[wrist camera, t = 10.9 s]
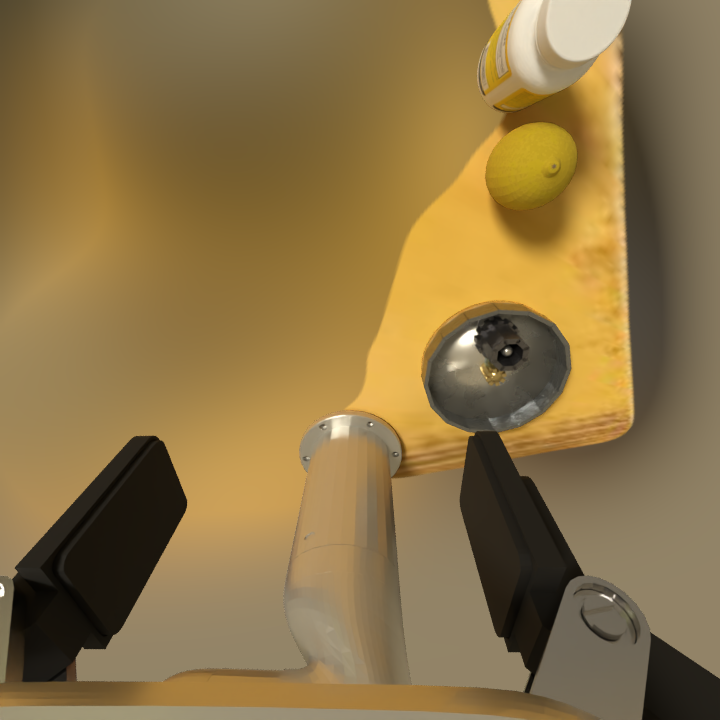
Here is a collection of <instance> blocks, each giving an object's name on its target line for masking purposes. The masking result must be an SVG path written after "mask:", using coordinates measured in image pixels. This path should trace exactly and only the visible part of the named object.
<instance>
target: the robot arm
mask: <svg viewBox="0 0 720 720" xmlns="http://www.w3.org/2000/svg"><path fill="white" fill-rule="evenodd" d="M299 453H300V460H301V463H302V465H303V467H304V469H305V471H306V472H307V478H306V483H305V488H304V493H303V497H302V503H301V507H300V512H299V517H298V522H297V527H296V531H295V537H294V541H293V546H292V551H291V556H290V561H289V566H288V570H287V576H286V581H285V587H284V610H285V616H286V620H287V623H288V626H289V629H290V631H291V634H292V636H293V638H294V640H295V642H296V644H297V646H298V648H299V650H300V652H301V654H302V656H303V658H304V660H305V662H306V663H307V666H306V667H304V668H300V669H284V670H258V669H229V668H222V669H217V668H216V669H214V668H207V669H194V670H187V671H184V672H180V673H178V674H175V675H173V676H171V677H169V678H167V679H165V680H164V681H163V682H104V681H101V682H100V681H92V682H91V681H90V682H89V681H77V675H76V656H77V655H78V653H79V651H80V650H81V648H82V647H83V648H84V649H106V647H107V645H108V643H109V642H110V640H111V638H112V636H113V635H115V634H116V633H118V632H119V631H120V630H121V628H122V626H123V625H124V623H125V621H126V619H127V617H128V616H129V614H130V612H131V610H132V608H133V606H134V605H135V603H136V601H137V599H138V597H139V596H140V594H141V592H142V590H143V588H144V586H145V585H146V583H147V581H148V579H149V577H150V575H151V574H152V572H153V570H154V568H155V566H156V564H157V563H158V561H159V559H160V557H161V555H162V553H163V552H164V550H165V548H166V546H167V544H168V542H169V541H170V538H171V537H172V535H173V533H174V532H175V530H176V528H177V526H178V524H179V522H180V520H181V518H182V517H183V515H184V513H185V511H186V508H187V499H186V496H185V494H184V492H183V489H182V487H181V484H180V481H179V479H178V476H177V474H176V471H175V469H174V467H173V464H172V462H171V459H170V456H169V454H168V451H167V449H166V447H165V444H164V442H163V441H160V440H159V438H158V437H156V436H136V437H133V438H132V439H131V440H130V441H129V442H128V443H127V444H126V445H125V446H124V447H123V449H122V450H121V451H120V452H119V453H118V454H117V455H116V456H115V457H114V459H113V460H112V461H111V462H110V463H109V464H108V465H107V466H106V467H105V468H104V470H103V471H102V472H101V473H100V474H99V475H98V476H97V477H96V478H95V480H94V481H93V482H92V483H91V484H90V485H89V486H88V487H87V488H86V489H85V491H84V492H83V493H82V494H81V495H80V496H79V497H78V498H77V499H76V500H75V502H74V503H73V504H72V505H71V506H70V507H69V508H68V509H67V511H66V512H65V513H64V514H63V515H62V516H61V517H60V518H59V519H58V520H57V521H56V523H55V524H54V525H53V526H52V527H51V528H50V529H49V530H48V532H47V533H46V534H45V535H44V536H43V537H42V538H41V539H40V540H39V541H38V543H37V544H36V545H35V546H34V547H33V548H32V549H31V550H30V551H29V552H28V553H27V555H26V556H25V557H24V558H23V559H22V560H21V561H20V562H19V564H18V565H17V566H16V567H15V569H16V570H17V571H18V573H17V574H16V576H15V577H14V578H13V579H10V578H9V577H7V576H0V720H720V679H719V678H718V677H716V676H715V675H713V674H712V673H710V672H709V671H707V670H706V669H704V668H703V667H701V666H700V665H698V664H697V663H695V662H694V661H692V660H691V659H689V658H688V657H686V656H685V655H683V654H682V653H680V652H679V651H677V650H676V649H675V648H673V647H671V646H670V645H669V644H667V643H666V642H664V641H663V640H661V639H660V638H658V637H657V636H655V635H654V634H652V633H651V632H650V628H649V625H648V623H647V621H646V618H645V616H644V614H643V613H642V611H641V610H640V609H639V607H638V606H637V604H636V603H635V602H634V601H633V600H632V599H631V598H630V597H629V596H628V595H627V594H626V593H625V592H623V591H622V590H621V589H619V588H618V587H616V586H615V585H613V584H612V583H609V582H607V581H605V580H603V579H601V578H597V577H593V576H584V574H583V572H582V570H581V568H580V567H579V565H578V563H577V561H576V559H575V557H574V555H573V554H572V552H571V550H570V548H569V546H568V544H567V543H566V541H565V539H564V537H563V535H562V533H561V532H560V530H559V528H558V526H557V524H556V522H555V521H554V519H553V517H552V515H551V513H550V511H549V509H548V508H547V506H546V504H545V502H544V500H543V499H542V497H541V495H540V493H539V491H538V490H537V487H536V486H535V484H534V482H533V481H532V480H531V478H529V477H526V476H520V475H519V473H518V471H517V469H516V467H515V466H514V463H513V461H512V459H511V457H510V455H509V454H508V452H507V450H506V448H505V446H504V444H503V442H502V440H501V438H500V436H499V434H498V433H497V432H496V431H476V433H475V436H470V437H469V439H468V446H467V453H466V459H465V466H464V473H463V480H462V486H461V493H460V507H461V512H462V515H463V519H464V523H465V526H466V529H467V533H468V537H469V540H470V544H471V547H472V551H473V555H474V558H475V562H476V565H477V569H478V572H479V576H480V580H481V583H482V587H483V590H484V594H485V597H486V601H487V605H488V608H489V612H490V615H491V618H492V622H493V626H494V629H495V632H496V634H497V636H498V637H504V639H505V643H506V646H507V649H508V652H520V653H521V656H522V659H523V662H524V665H525V667H526V668H527V669H528V670H529V671H530V674H529V677H528V680H527V683H526V685H525V688H524V691H523V692H518V691H509V690H499V689H488V688H477V687H475V688H474V687H450V686H449V687H448V686H422V685H412V684H411V678H410V672H409V666H408V661H407V654H406V646H405V638H404V631H403V621H402V610H401V599H400V587H399V575H398V562H397V548H396V535H395V524H394V511H393V498H392V486H391V478H392V476H393V475H394V474H395V473H396V472H397V470H398V468H399V466H400V463H401V459H402V449H401V443H400V440H399V437H398V435H397V434H396V432H395V431H394V429H393V428H392V427H391V426H390V425H389V424H388V423H386V422H385V421H383V420H382V419H380V418H378V417H376V416H374V415H372V414H369V413H365V412H361V411H339V412H334V413H330V414H328V415H325V416H323V417H321V418H319V419H318V420H316V421H315V422H313V423H312V424H311V425H310V426H309V427H308V428H307V430H306V431H305V433H304V435H303V437H302V440H301V445H300V449H299Z"/></svg>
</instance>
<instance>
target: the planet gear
mask: <svg viewBox="0 0 720 720" xmlns="http://www.w3.org/2000/svg"><path fill="white" fill-rule="evenodd" d="M483 322H484V324H485V325H483V326H482V327H481V326H478V327H477V329H476V331H477V332H478V334H477V335H474V339H473V340H474V341H475V343H476V344H475V346H476V348H477V349H478V351H479V353H480V354H481V353H482V355H483V356H484V357H485V358H487V359H489V361H490V362H491V363H492V364H493V365H494V366H495V367H496V368H497V369H498V370H500V371H516V370H517V369H518V368H519V367H520V366H522V365H523V364H524V363H525V362H527V361H528V355H529V349H530V347H529V346H528V345H527V344H526V343H525V342H524V341H523V340H522V339H521V337H520V336H519V335H518V333H519V332H520V331H519V329H518V328H517V327H516V326H515V325H514V324H513V323H512V322H511V321H510V320H509V319H507V318H504V320H502V319H501V318H500V317H494V320H489V319H487V320H485V321H483ZM506 344H509V345H510V346H511V347H512V349H513V353H512V354H511V355H510V356H504V355H502V354H501V352H500V351H499V350H500V349H502V348H503V347H504V346H505V345H506Z"/></svg>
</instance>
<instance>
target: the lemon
mask: <svg viewBox="0 0 720 720" xmlns="http://www.w3.org/2000/svg"><path fill="white" fill-rule="evenodd" d="M576 165H577V149H576V144H575V142H574V140H573V138H572V137H571V135H570V134H569V133H568V132H567V131H566V130H565V129H564V128H562V127H560V126H558V125H555V124H553V123H547V122H534V123H529V124H525V125H522V126H520V127H518V128H516V129H514V130H512V131H511V132H509V133H508V134H507V135H506V136H504V137H503V138H502V139H501V140H500V141H499V143H498V144H497V145H496V146H495V148H494V149H493V151H492V153H491V155H490V157H489V159H488V163H487V166H486V175H485V179H486V185H487V188H488V190H489V193H490V195H491V196H492V197H493V198H494V199H495V201H496V202H497V203H499V204H501V205H502V206H504V207H506V208H509V209H513V210H530V209H534V208H537V207H541V206H543V205H545V204H547V203H548V202H550V201H552V200H554V199H555V198H556V197H557V196H558V195H559V194H561V193H562V192H563V190H564V189H565V188H566V187H567V185H568V184H569V183H570V181H571V179H572V177H573V175H574V172H575V169H576Z"/></svg>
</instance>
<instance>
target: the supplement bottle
mask: <svg viewBox="0 0 720 720" xmlns="http://www.w3.org/2000/svg"><path fill="white" fill-rule="evenodd" d="M630 5H631V0H521V1H520V2H519V3H518V4H517V6H516V7H515V8H514V9H513V10H512V12H511V13H510V14H509V15H508V16H507V18H506V19H505V20H504V21H503V22H502V24H501V25H500V26H499V27H498V28H497V30H496V31H495V32H494V33H493V35H492V36H491V38H490V39H489V41H488V42H487V44H486V46H485V47H484V50H483V52H482V54H481V57H480V60H479V65H478V72H477V73H478V74H477V79H478V87H479V91H480V93H481V95H482V98H483V99H484V101H485V102H486V103H487V104H488V105H489V106H490V107H491V108H492V109H494V110H496V111H499V112H503V113H512V112H516V111H519V110H522V109H524V108H526V107H529V106H530V105H532V104H534V103H536V102H538V101H540V100H543V99H545V98H547V97H549V96H551V95H553V94H555V93H557V92H559V91H561V90H563V89H565V88H567V87H569V86H570V85H572V84H573V83H575V82H576V81H577V80H579V79H580V78H581V77H582V76H583V75H584V74H585V73H586V72H587V71H588V69H589V68H590V67H591V66H592V65H593V63H594V62H595V60H596V59H597V57H598V56H599V55H600V54H601V53H602V52H603V51H605V50H606V49H607V48H608V47H609V46H610V45H611V44H612V42H613V41H614V40H615V39H616V37H617V36H618V34H619V33H620V31H621V29H622V27H623V26H624V23H625V21H626V19H627V16H628V13H629V9H630Z"/></svg>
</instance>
